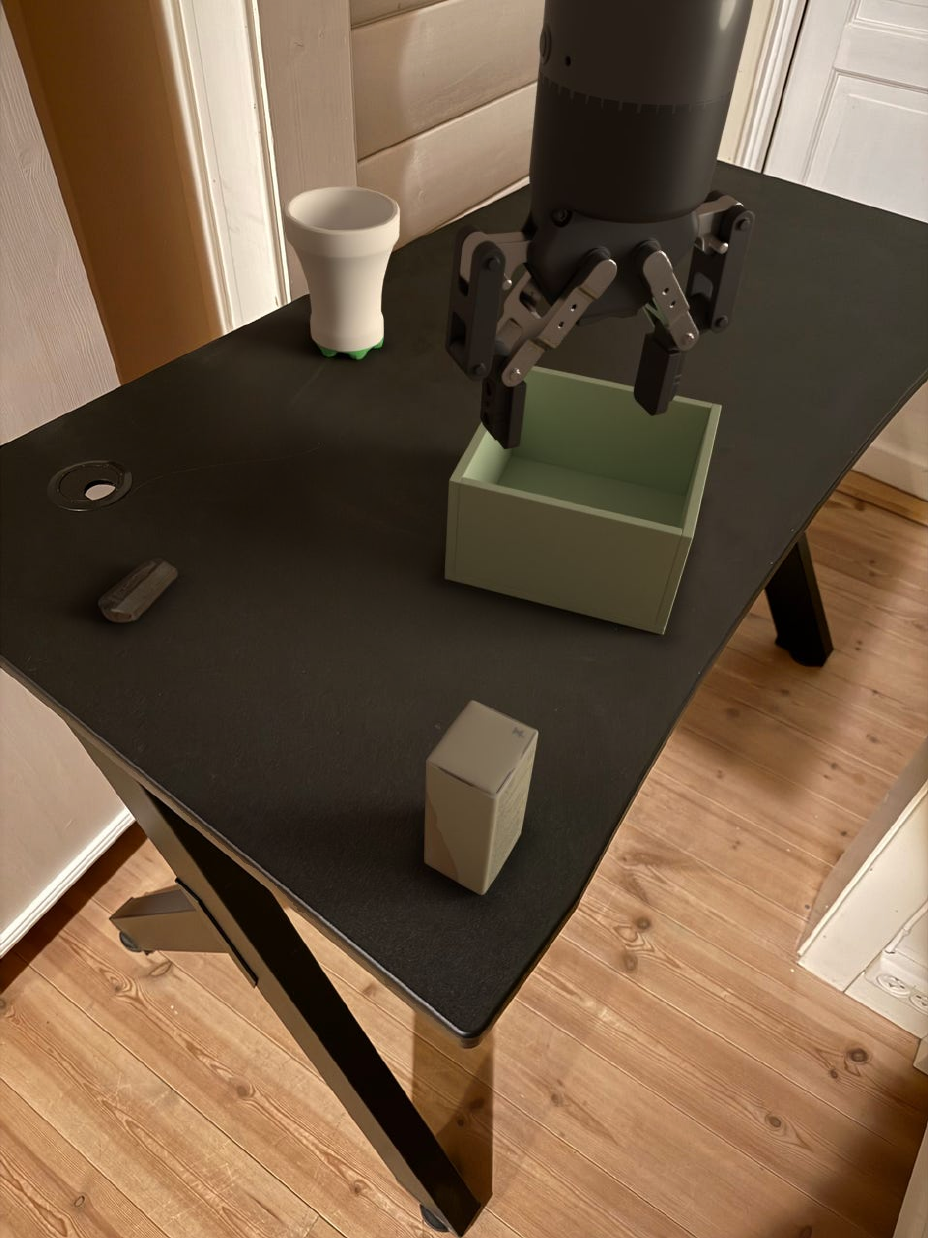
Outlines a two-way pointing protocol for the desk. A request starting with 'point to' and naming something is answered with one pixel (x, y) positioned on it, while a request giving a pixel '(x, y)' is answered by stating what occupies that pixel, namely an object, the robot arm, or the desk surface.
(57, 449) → the desk surface
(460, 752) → the box
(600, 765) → the desk surface
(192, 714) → the desk surface
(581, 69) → the robot arm
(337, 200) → the cup
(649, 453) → the bin
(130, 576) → the block
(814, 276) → the desk surface
